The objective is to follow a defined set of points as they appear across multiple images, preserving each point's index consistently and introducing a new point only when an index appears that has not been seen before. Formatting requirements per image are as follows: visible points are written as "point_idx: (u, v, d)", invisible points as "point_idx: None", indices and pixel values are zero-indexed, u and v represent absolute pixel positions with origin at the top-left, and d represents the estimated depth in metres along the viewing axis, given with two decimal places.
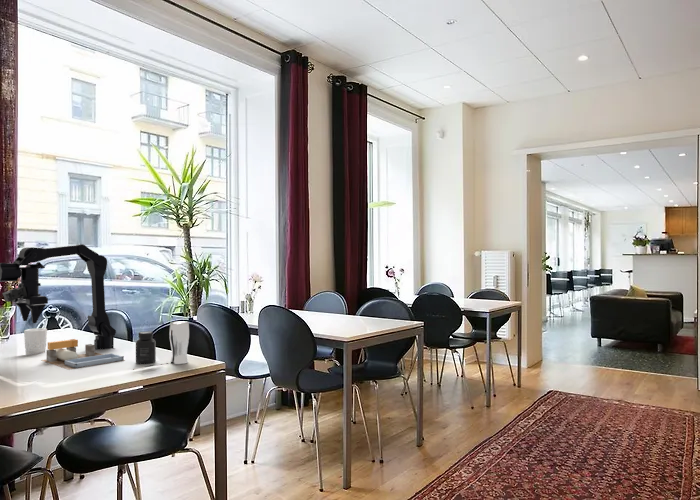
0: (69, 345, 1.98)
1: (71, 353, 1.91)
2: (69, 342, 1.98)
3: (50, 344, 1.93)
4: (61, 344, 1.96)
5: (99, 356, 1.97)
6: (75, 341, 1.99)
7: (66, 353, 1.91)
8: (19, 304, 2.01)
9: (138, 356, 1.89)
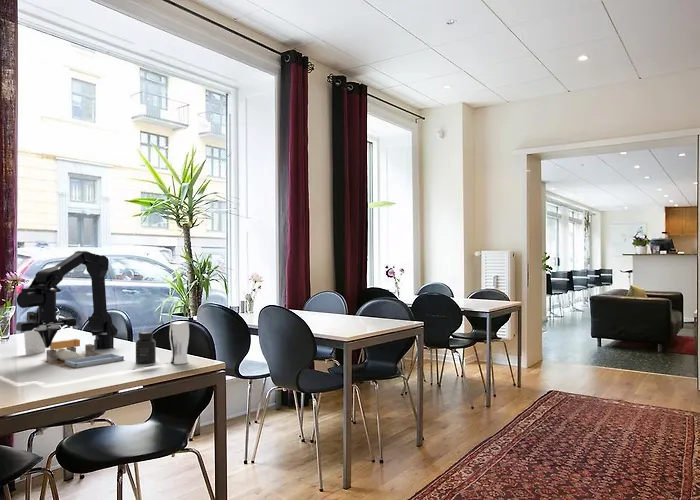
0: (71, 345, 1.99)
1: (71, 353, 1.91)
2: (71, 342, 1.99)
3: (52, 344, 1.94)
4: (63, 344, 1.96)
5: (99, 356, 1.97)
6: (77, 341, 2.00)
7: (67, 353, 1.91)
8: (47, 329, 1.95)
9: (138, 356, 1.89)
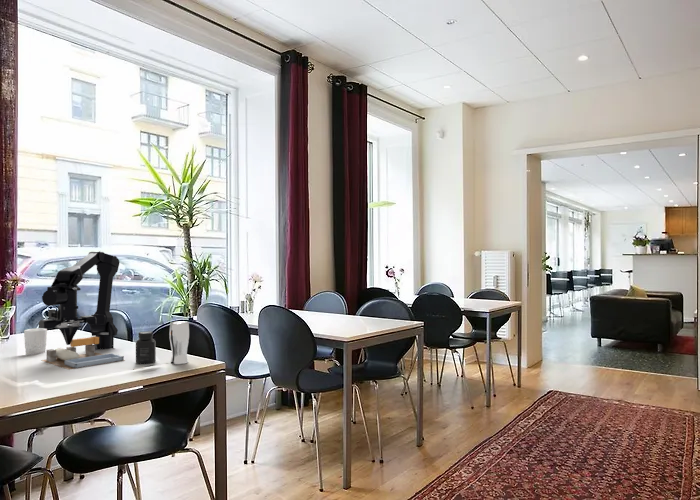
0: (91, 342, 2.04)
1: (72, 353, 1.91)
2: (91, 339, 2.04)
3: (73, 341, 1.99)
4: (83, 341, 2.02)
5: (99, 356, 1.97)
6: (96, 338, 2.05)
7: (67, 352, 1.91)
8: (68, 327, 2.00)
9: (138, 356, 1.89)
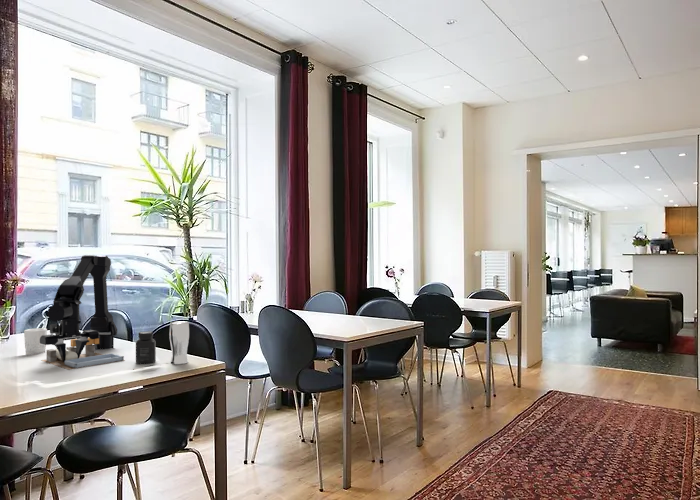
0: (91, 342, 2.04)
1: (70, 353, 1.91)
2: (91, 339, 2.04)
3: (73, 341, 1.99)
4: None
5: (99, 356, 1.97)
6: None
7: (66, 353, 1.91)
8: (76, 341, 1.95)
9: (138, 356, 1.89)
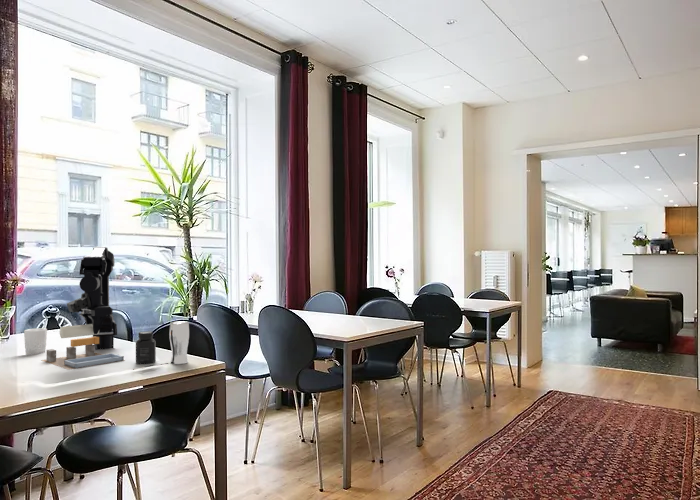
0: (91, 342, 2.04)
1: None
2: (91, 339, 2.04)
3: (73, 341, 1.99)
4: (83, 341, 2.02)
5: (99, 356, 1.97)
6: (97, 338, 2.05)
7: None
8: (85, 315, 1.92)
9: (138, 356, 1.89)
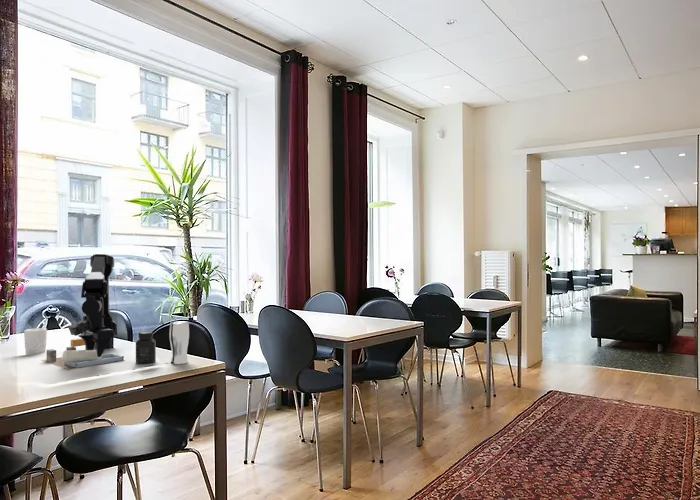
0: None
1: None
2: None
3: (73, 341, 1.99)
4: (83, 341, 2.02)
5: None
6: None
7: None
8: (84, 337, 1.93)
9: (138, 356, 1.89)
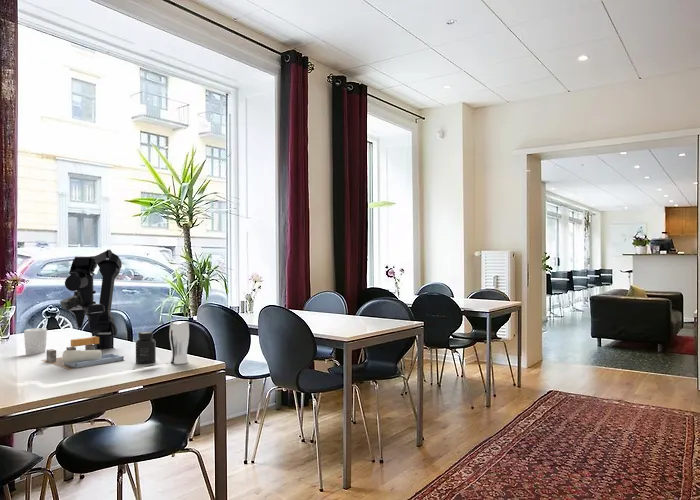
0: (91, 342, 2.04)
1: None
2: (91, 339, 2.04)
3: (73, 341, 1.99)
4: (83, 341, 2.02)
5: None
6: (97, 338, 2.05)
7: (97, 351, 1.91)
8: (74, 311, 2.04)
9: (138, 356, 1.89)
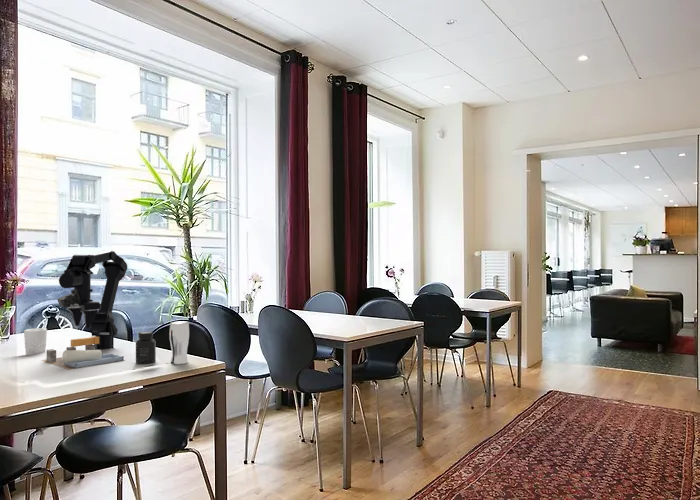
0: (91, 342, 2.04)
1: None
2: (91, 339, 2.04)
3: (73, 341, 1.99)
4: (83, 341, 2.02)
5: None
6: (97, 338, 2.05)
7: (97, 351, 1.91)
8: (71, 309, 2.07)
9: (138, 356, 1.89)
